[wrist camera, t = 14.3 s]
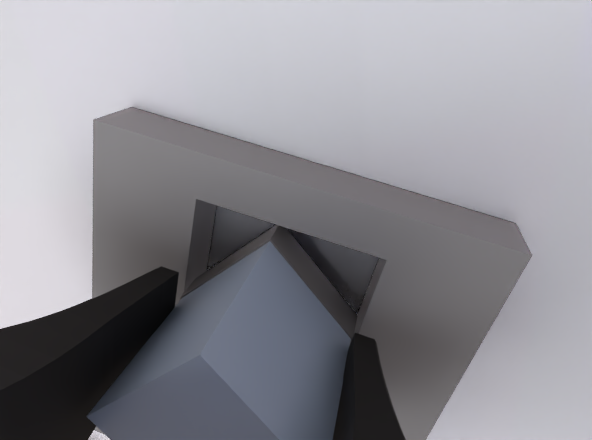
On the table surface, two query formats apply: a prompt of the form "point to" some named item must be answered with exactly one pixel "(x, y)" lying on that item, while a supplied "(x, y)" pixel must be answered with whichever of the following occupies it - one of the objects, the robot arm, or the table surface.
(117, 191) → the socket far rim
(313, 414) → the plug
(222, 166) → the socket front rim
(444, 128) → the table surface
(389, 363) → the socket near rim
